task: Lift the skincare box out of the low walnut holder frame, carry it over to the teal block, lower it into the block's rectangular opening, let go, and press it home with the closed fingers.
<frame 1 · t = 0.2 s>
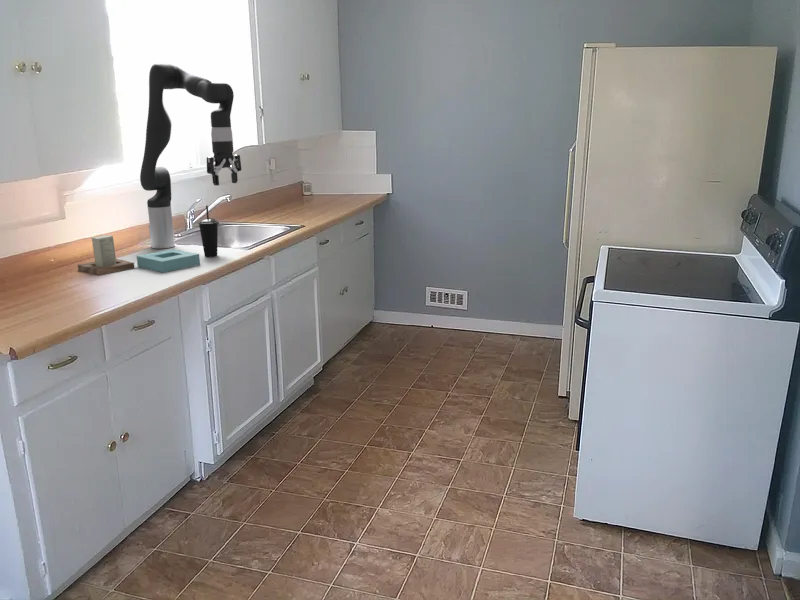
hand: (225, 184, 262), 29 cm above the worktop, tool pointing down, fingers open, 8 cm apart
holder frame: (106, 269, 257), on the worktop
socket block: (169, 265, 261), on the worktop
drinking cup: (211, 256, 277), on the worktop
skincare box: (106, 269, 257), resting in holder frame
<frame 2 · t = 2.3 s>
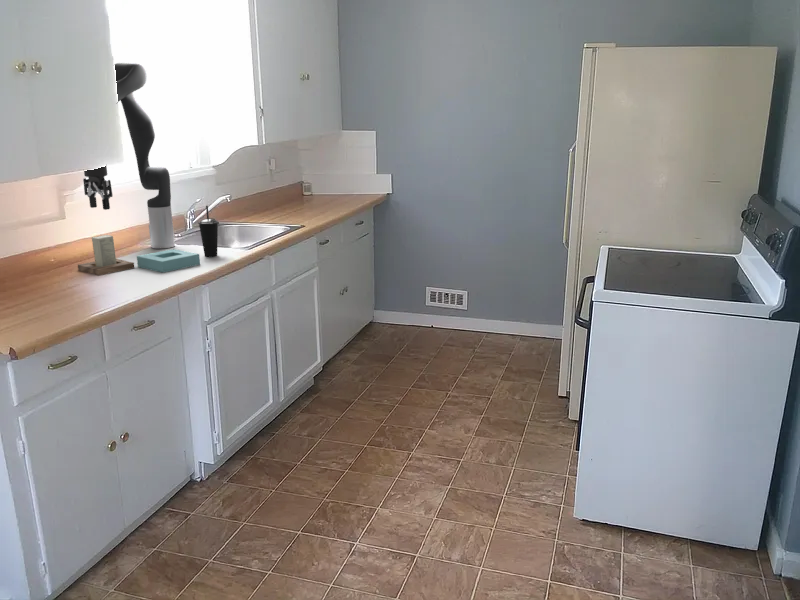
hand: (100, 208, 250), 22 cm above the worktop, tool pointing down, fingers open, 8 cm apart
nothing on the worktop moved.
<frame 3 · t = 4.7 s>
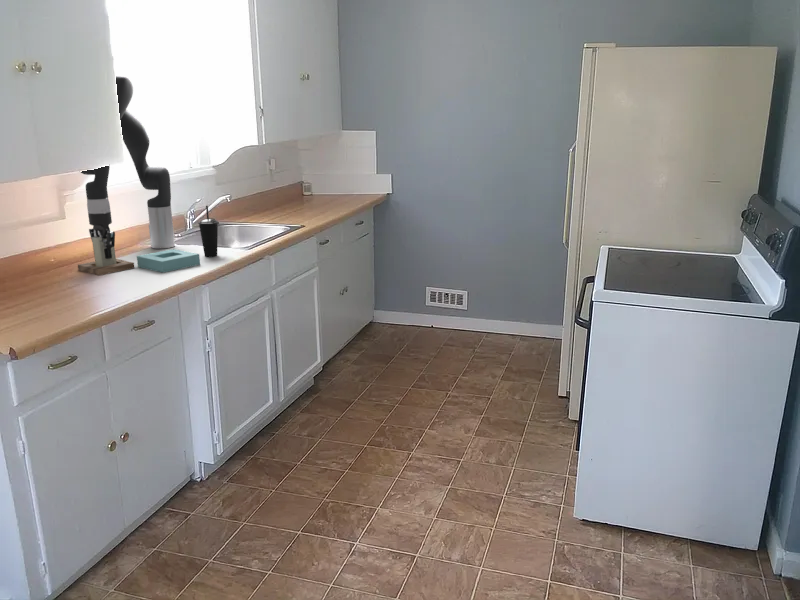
hand: (105, 257, 255), 4 cm above the worktop, tool pointing down, fingers closed on skincare box, 4 cm apart
skincare box: (106, 269, 257), resting in holder frame, touching gripper
everything else where it was.
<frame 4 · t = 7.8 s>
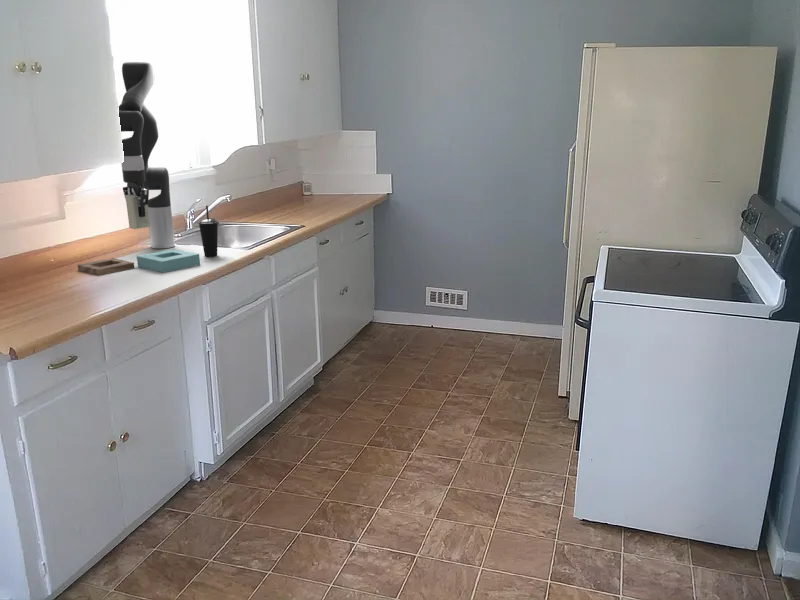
hand: (138, 215, 254), 19 cm above the worktop, tool pointing down, fingers closed on skincare box, 4 cm apart
skincare box: (139, 228, 256), point 14 cm above the worktop, touching gripper
everything else where it was.
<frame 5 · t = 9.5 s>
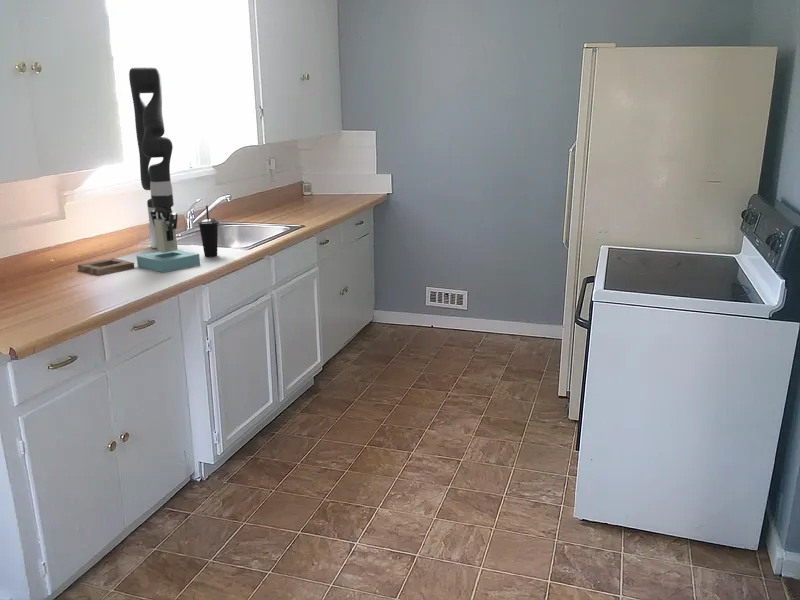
hand: (166, 239, 259), 10 cm above the worktop, tool pointing down, fingers closed on skincare box, 4 cm apart
skincare box: (167, 251, 260), point 5 cm above the worktop, touching gripper
everything else where it was.
when the fingers open (6 cm above the worktop, at t = 10.8 s): skincare box drops 1 cm, resting in socket block.
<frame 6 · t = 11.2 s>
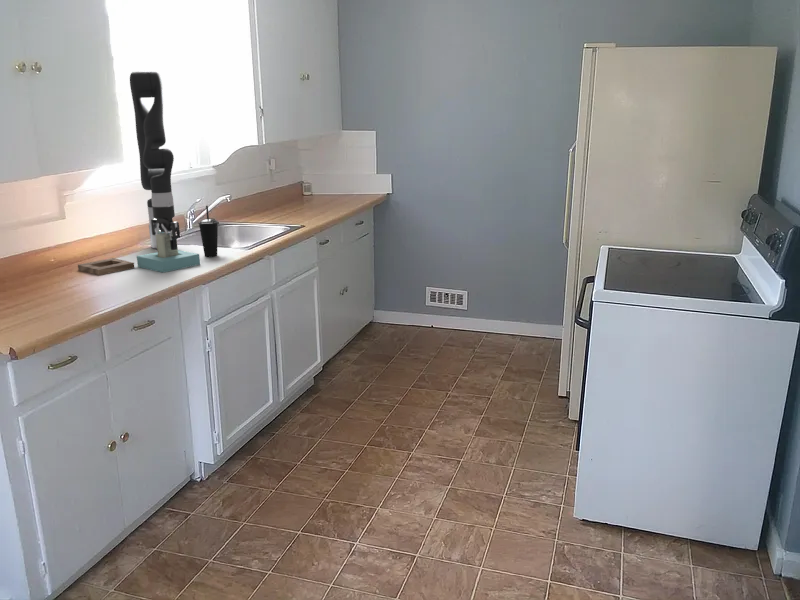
hand: (167, 248, 259), 7 cm above the worktop, tool pointing down, fingers open, 8 cm apart
skincare box: (169, 266, 261), resting in socket block
everything else where it was.
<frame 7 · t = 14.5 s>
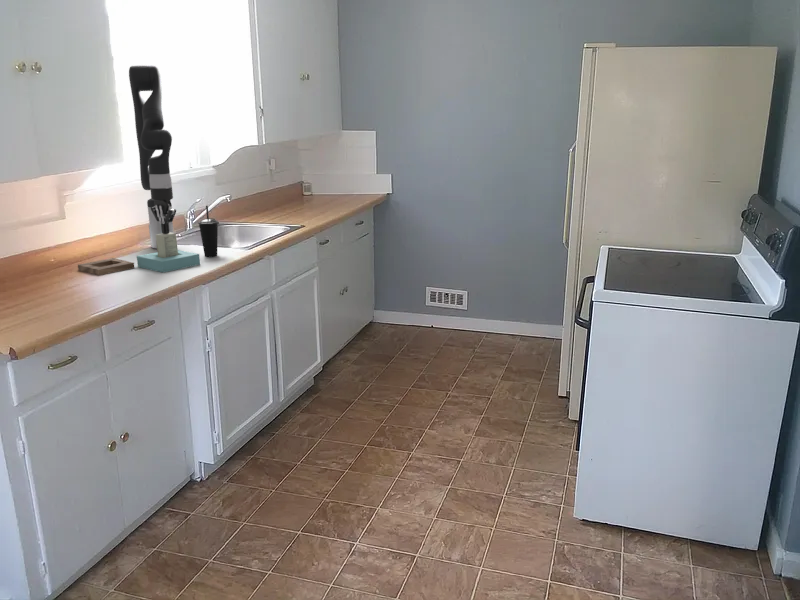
hand: (165, 233, 258), 12 cm above the worktop, tool pointing down, fingers closed
skincare box: (169, 266, 261), resting in socket block, touching gripper
everything else where it was.
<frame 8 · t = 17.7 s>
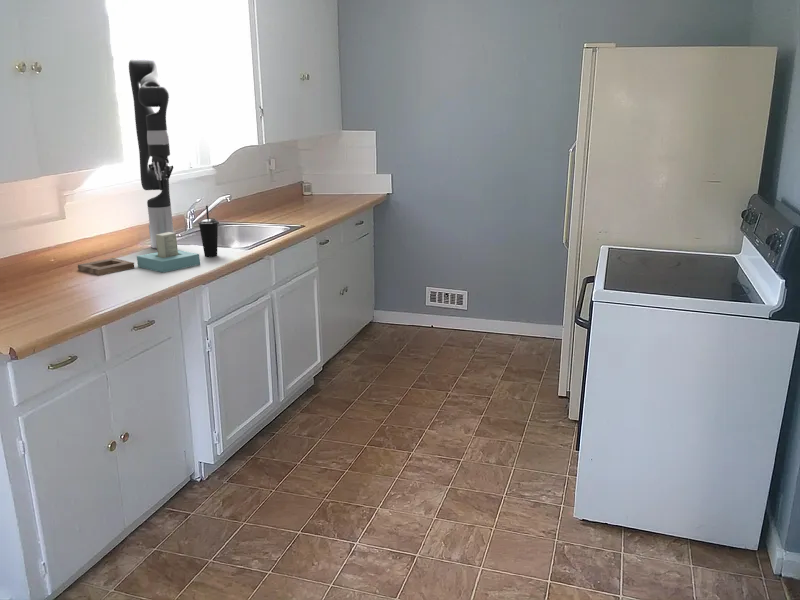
hand: (163, 190, 263), 27 cm above the worktop, tool pointing down, fingers closed
skincare box: (169, 266, 261), resting in socket block
everything else where it was.
at the end: skincare box 0.1 cm off-centre on the socket block, point 0.0 cm above the socket block's base; skincare box tilted 0°; the gripper is holding nothing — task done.
